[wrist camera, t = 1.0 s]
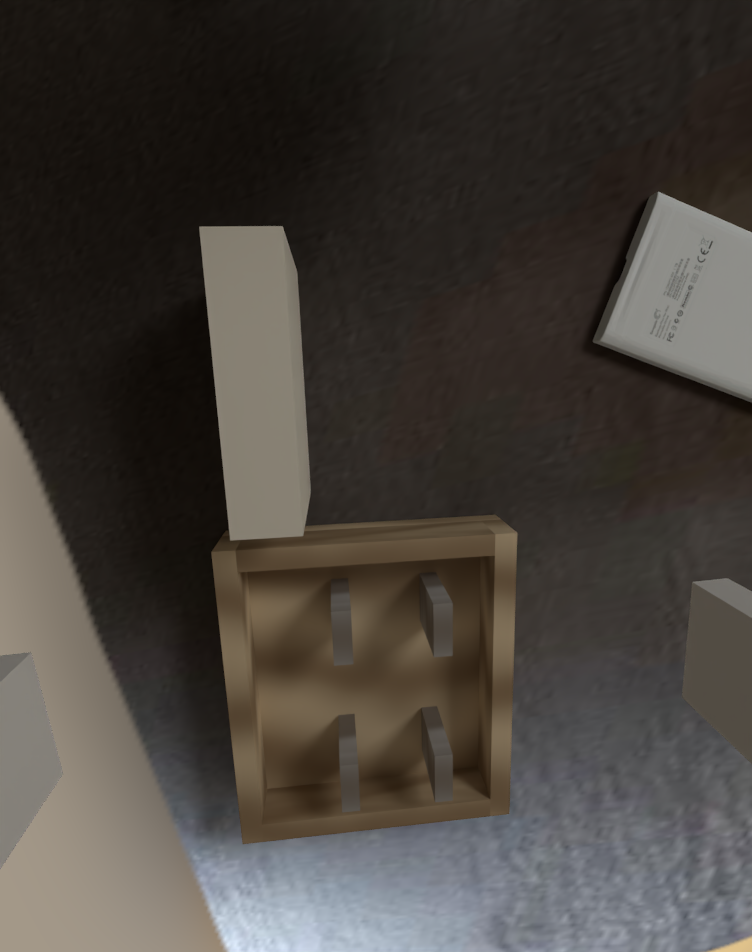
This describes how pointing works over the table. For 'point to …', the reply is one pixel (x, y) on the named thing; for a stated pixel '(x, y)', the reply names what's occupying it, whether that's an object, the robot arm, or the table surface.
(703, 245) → the external hard drive
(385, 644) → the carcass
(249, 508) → the beige rectangular block
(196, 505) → the table surface
